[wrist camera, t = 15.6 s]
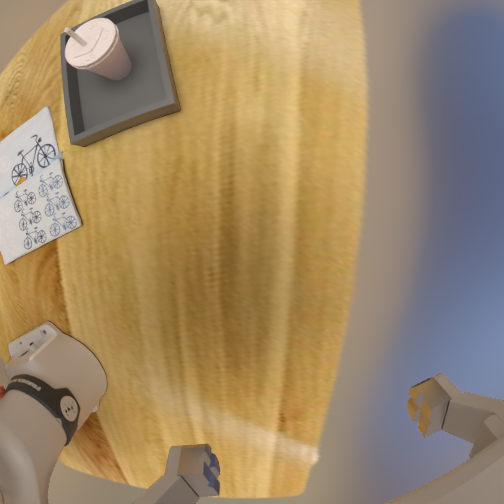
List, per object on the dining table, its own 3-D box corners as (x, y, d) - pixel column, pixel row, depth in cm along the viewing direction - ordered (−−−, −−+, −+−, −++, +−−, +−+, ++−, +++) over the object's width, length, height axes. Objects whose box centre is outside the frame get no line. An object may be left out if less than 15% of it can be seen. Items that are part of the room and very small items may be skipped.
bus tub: (85, 146, 33) (70, 144, 29) (72, 43, 29) (60, 34, 25) (181, 110, 33) (174, 102, 29) (158, 7, 29) (152, -7, 25)
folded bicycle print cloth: (8, 264, 37) (1, 267, 34) (-18, 155, 32) (-26, 155, 30) (87, 226, 36) (80, 229, 34) (56, 99, 31) (49, 96, 29)
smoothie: (90, 75, 30) (34, 40, 16) (121, 41, 29) (79, -8, 15) (117, 98, 31) (63, 64, 18) (151, 61, 30) (113, 11, 17)
